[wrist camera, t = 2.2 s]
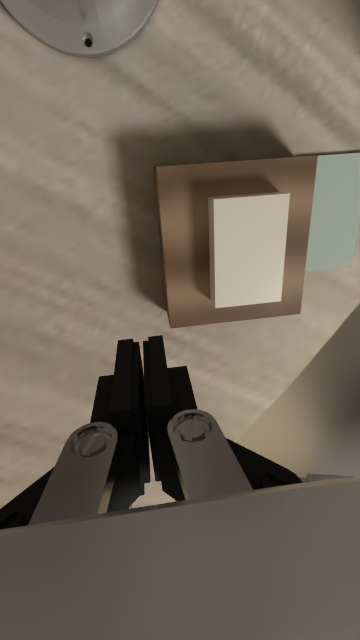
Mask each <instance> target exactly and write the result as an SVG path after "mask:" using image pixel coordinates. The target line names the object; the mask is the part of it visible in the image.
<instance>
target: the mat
mask: <svg viewBox="0 0 360 640" xmlns="http://www.w3.org/2000/svg"><path fill="white" fill-rule="evenodd" d="M359 223H360V153H348V154H334V155H320V156H318V159H317V168H316V177H315V186H314V195H313V204H312V213H311V222H310V230H309V239H308V248H307V257H306V266H305V272H310V271H320V270H330V269H340V268H349V267H352V262H353V257H354V251H355V245H356V240H357V234H358V229H359Z"/></svg>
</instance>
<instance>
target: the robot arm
mask: <svg viewBox="0 0 360 640" xmlns="http://www.w3.org/2000/svg"><path fill="white" fill-rule="evenodd" d="M0 1H1V2H2V4H3V5H4V6H5V8H6V9H7V10H8V11H9V13H10V14H11V15H12V16H13V18H14V19H15V20H16V21H17V22H18V23H19V24H20V25H21V26H22V27H23V28H24V29H25V30H26V31H27V32H28V33H29V34H31V35H32V36H33V37H35V38H36V39H37V40H39V41H40V42H42V43H43V44H44V45H46V46H48V47H50V48H52V49H54V50H56V51H58V52H61V53H63V54H67V55H71V56H75V57H85V58H96V57H100V56H105V55H109V54H112V53H114V52H116V51H118V50H120V49H122V48H124V47H125V46H126V45H128V44H129V43H130V42H131V41H132V40H134V39H135V38H136V37H137V36H138V35H139V34H140V32H141V31H142V30H143V29H144V27H145V26H146V25H147V23H148V22H149V20H150V18H151V16H152V14H153V12H154V10H155V8H156V6H157V4H158V1H159V0H0ZM88 40H90V41H91V42H92V46H91V47H87V46H86V45H85V44H86V41H88ZM148 340H149V341H143V355H144V375H143V368H142V361H141V354H140V347H139V342H133V339H126V340H118V345H117V354H116V362H115V370H114V375H108V376H100V377H99V380H98V385H97V390H96V395H95V400H94V406H93V411H92V416H91V421H90V423H89V424H86V425H83V426H82V427H80V428H78V429H77V430H75V431H74V432H73V433H72V434H71V435H70V436H69V438H68V439H67V441H66V443H65V445H64V447H63V450H62V452H61V454H60V456H59V458H58V461H57V463H56V465H55V467H53V468H52V469H51V470H50V471H48V472H47V473H46V474H45V475H43V476H42V477H41V478H39V479H38V480H37V481H36V482H34V483H33V484H32V485H30V486H29V487H28V488H27V489H25V490H24V491H23V492H22V493H20V494H19V495H18V496H16V497H15V498H14V499H13V500H11V501H10V502H9V503H8V504H6V505H5V506H4V507H2V508H1V509H0V640H360V477H355V476H338V475H322V474H307V475H306V478H299V477H298V476H297V475H296V474H294V473H293V472H291V471H289V470H288V469H286V468H284V467H282V466H280V465H279V464H276V463H274V462H273V461H271V460H269V459H267V458H265V457H263V456H261V455H259V454H257V453H255V452H253V451H251V450H249V449H247V448H245V447H243V446H241V445H239V444H237V443H235V442H233V441H231V440H229V439H227V438H225V436H224V435H223V433H222V431H221V429H220V427H219V425H218V423H217V421H216V420H215V419H214V417H213V416H212V415H210V414H209V413H207V412H205V411H202V410H197V406H196V402H195V398H194V394H193V390H192V386H191V382H190V378H189V374H188V370H187V366H181V367H173V368H167V364H166V357H165V350H164V343H163V337H162V335H161V336H152V337H148ZM149 439H150V446H151V453H152V460H153V467H154V474H155V480H156V481H161V482H162V490H163V491H164V492H165V493H167V494H168V495H169V496H171V497H172V498H174V499H175V502H171V503H164V504H158V505H152V506H145V507H139V508H132V503H133V502H134V501H135V500H136V499H137V498H138V497H139V496H140V495H144V483H149V482H150V458H149Z"/></svg>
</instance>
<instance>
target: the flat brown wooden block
mask: <svg viewBox="0 0 360 640" xmlns="http://www.w3.org/2000/svg"><path fill="white" fill-rule="evenodd" d="M317 159H318V155H315V156H301V157H287V158H273V159H258V160H244V161H230V162H216V163H202V164H188V165H173V166H159V167H154V175H155V186H156V197H157V208H158V219H159V230H160V241H161V252H162V263H163V274H164V285H165V296H166V307H167V315H168V320H169V324H170V328H178V327H187V326H196V325H205V324H214V323H223V322H232V321H241V320H249V319H258V318H267V317H276V316H285V315H294V314H300V310H301V301H302V292H303V284H304V275H305V266H306V257H307V248H308V239H309V230H310V222H311V213H312V204H313V195H314V186H315V177H316V168H317ZM270 192H285V193H290V200H289V212H288V224H287V236H286V248H285V260H284V272H283V285H282V297H281V301H278V302H269V303H260V304H251V305H242V306H233V307H223V308H215V307H214V305H213V303H212V302H211V294H210V251H209V208H208V197H220V196H232V195H245V194H258V193H270Z"/></svg>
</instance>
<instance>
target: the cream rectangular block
mask: <svg viewBox="0 0 360 640" xmlns="http://www.w3.org/2000/svg"><path fill="white" fill-rule="evenodd" d="M289 200H290V193H285V192H270V193H258V194H245V195H232V196H220V197H208V208H209V251H210V294H211V302H212V303H213V305H214V307H215V308H223V307H233V306H242V305H251V304H260V303H269V302H278V301H281V297H282V285H283V272H284V260H285V248H286V236H287V224H288V212H289Z"/></svg>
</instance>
